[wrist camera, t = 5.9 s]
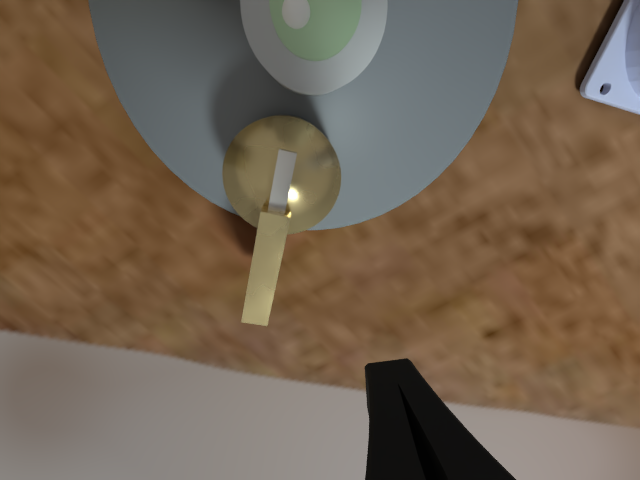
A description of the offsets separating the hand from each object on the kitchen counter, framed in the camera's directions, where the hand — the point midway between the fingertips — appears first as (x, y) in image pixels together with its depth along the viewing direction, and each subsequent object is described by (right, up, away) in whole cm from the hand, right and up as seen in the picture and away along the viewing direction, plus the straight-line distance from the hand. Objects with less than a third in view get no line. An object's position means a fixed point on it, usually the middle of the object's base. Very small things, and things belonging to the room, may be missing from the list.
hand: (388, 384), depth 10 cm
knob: (-4, +6, +6) cm, 9 cm away
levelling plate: (-3, +13, +4) cm, 14 cm away
